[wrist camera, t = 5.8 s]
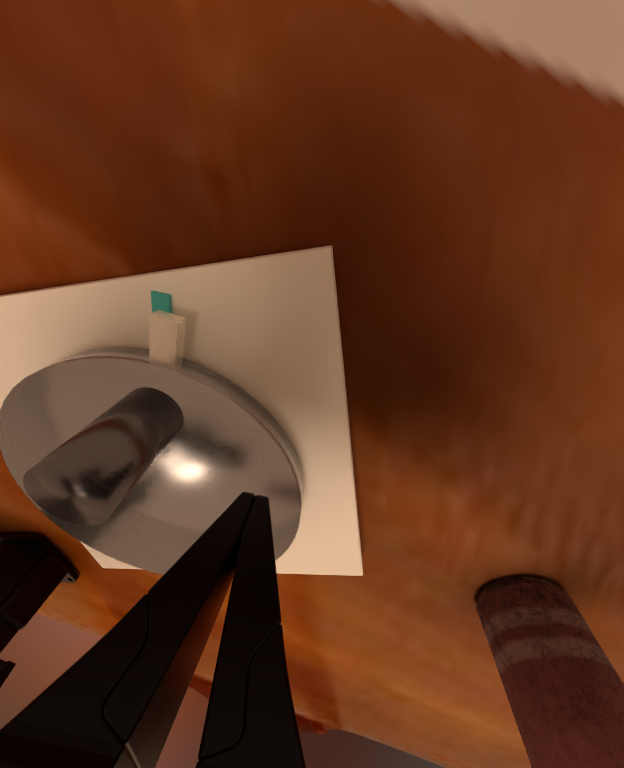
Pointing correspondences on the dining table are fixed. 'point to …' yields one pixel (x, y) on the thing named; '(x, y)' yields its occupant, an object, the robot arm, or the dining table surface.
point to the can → (554, 675)
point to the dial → (146, 449)
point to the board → (226, 366)
